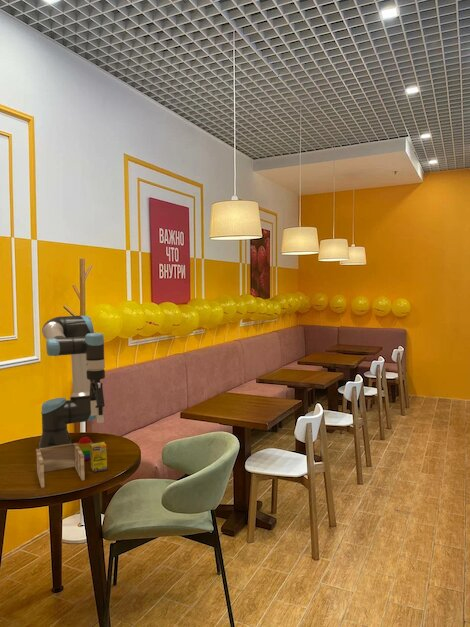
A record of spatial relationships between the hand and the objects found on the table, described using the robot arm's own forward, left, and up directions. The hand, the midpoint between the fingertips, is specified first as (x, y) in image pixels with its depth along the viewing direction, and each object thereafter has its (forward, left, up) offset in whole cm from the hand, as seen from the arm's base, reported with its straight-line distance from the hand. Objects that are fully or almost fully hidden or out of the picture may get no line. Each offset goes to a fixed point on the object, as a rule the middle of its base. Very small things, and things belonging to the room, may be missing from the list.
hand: (97, 418), depth 206 cm
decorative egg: (-17, +5, -22) cm, 28 cm away
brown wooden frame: (-7, -14, -22) cm, 27 cm away
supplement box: (0, 0, -22) cm, 22 cm away
